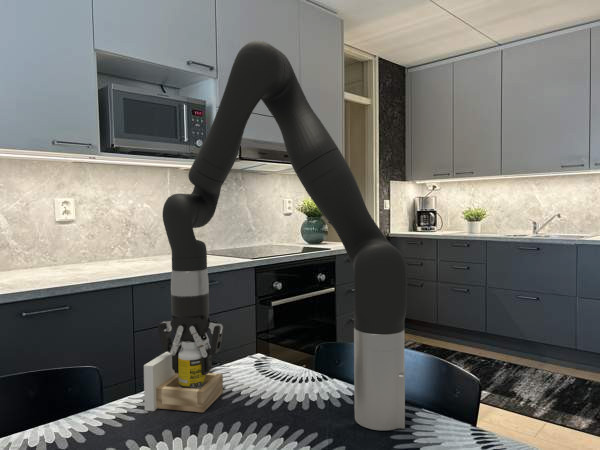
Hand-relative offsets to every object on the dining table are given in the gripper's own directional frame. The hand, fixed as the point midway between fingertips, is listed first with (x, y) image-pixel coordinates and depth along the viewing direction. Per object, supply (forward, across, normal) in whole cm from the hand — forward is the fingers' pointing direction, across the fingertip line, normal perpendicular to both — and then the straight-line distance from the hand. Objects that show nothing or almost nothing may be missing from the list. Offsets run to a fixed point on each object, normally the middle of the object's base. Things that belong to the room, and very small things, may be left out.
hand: (191, 372), depth 94 cm
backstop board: (+6, +6, 0) cm, 9 cm away
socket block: (+6, 0, 0) cm, 6 cm away
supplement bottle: (+3, 0, 0) cm, 3 cm away
